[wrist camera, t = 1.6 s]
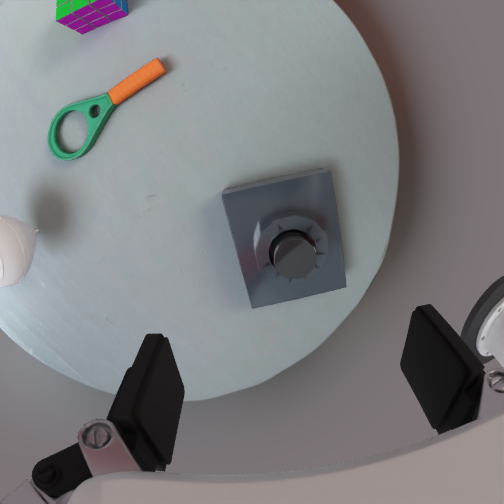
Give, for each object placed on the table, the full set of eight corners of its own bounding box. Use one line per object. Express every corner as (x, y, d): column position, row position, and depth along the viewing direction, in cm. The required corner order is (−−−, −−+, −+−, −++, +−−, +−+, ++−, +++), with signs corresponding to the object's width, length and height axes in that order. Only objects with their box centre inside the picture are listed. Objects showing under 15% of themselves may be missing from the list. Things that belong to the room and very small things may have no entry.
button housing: (322, 167, 28) (337, 173, 24) (338, 274, 33) (352, 296, 28) (223, 189, 29) (219, 199, 24) (251, 294, 33) (252, 319, 29)
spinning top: (37, 267, 32) (-17, 314, 21) (10, 219, 29) (-51, 253, 18) (70, 242, 31) (9, 288, 19) (41, 188, 28) (-29, 216, 17)
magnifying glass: (66, 170, 28) (58, 172, 26) (46, 128, 25) (37, 129, 24) (178, 90, 25) (173, 87, 24) (152, 45, 23) (147, 41, 22)
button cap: (308, 227, 26) (313, 234, 24) (314, 264, 27) (319, 273, 25) (267, 236, 26) (269, 244, 24) (276, 272, 27) (278, 283, 25)
